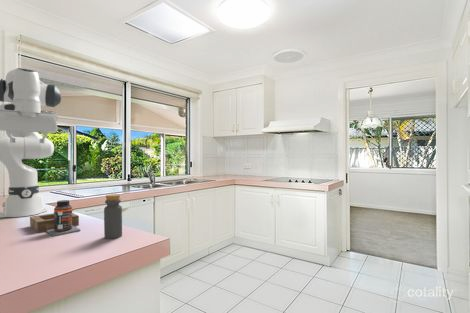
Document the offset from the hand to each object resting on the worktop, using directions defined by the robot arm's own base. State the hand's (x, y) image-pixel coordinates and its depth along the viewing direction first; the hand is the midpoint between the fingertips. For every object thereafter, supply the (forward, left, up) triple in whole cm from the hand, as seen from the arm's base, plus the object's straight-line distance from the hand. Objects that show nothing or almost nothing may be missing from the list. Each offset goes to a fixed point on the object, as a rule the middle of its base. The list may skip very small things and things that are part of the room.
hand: (27, 142), depth 107 cm
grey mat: (+16, +8, -35) cm, 39 cm away
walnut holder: (+4, +8, -35) cm, 36 cm away
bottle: (+38, +18, -35) cm, 55 cm away
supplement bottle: (+16, +8, -34) cm, 39 cm away
